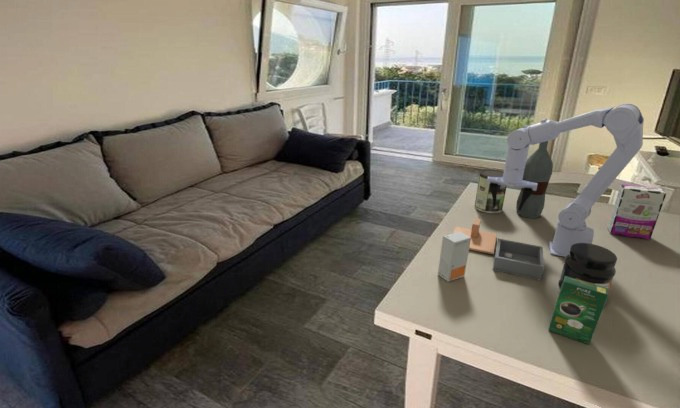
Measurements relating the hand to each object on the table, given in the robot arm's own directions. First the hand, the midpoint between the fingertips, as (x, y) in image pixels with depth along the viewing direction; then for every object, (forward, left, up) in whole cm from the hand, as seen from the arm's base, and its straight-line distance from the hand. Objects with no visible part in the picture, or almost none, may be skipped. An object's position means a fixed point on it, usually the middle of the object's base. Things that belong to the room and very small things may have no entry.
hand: (506, 207), depth 122 cm
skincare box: (+11, +34, -9) cm, 37 cm away
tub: (-5, +20, -9) cm, 22 cm away
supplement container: (-20, +28, -9) cm, 36 cm away
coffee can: (+6, -19, -9) cm, 22 cm away
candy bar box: (-38, -16, -9) cm, 42 cm away
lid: (+8, +12, -9) cm, 17 cm away
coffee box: (-16, +46, -9) cm, 50 cm away
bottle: (-8, -20, -9) cm, 23 cm away
